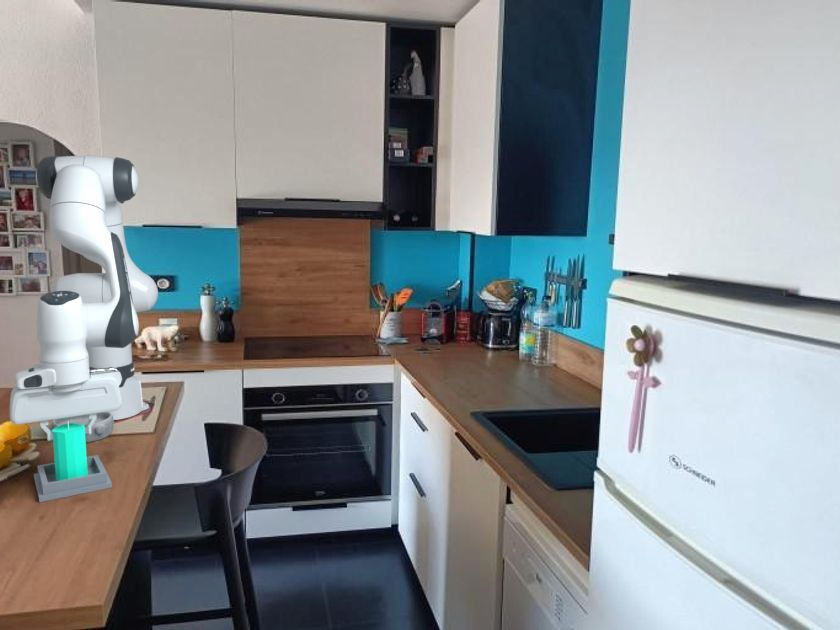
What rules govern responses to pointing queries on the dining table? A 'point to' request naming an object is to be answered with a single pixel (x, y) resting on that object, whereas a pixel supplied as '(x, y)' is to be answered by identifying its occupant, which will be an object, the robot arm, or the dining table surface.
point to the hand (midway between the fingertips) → (69, 436)
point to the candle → (69, 451)
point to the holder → (71, 481)
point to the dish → (99, 428)
